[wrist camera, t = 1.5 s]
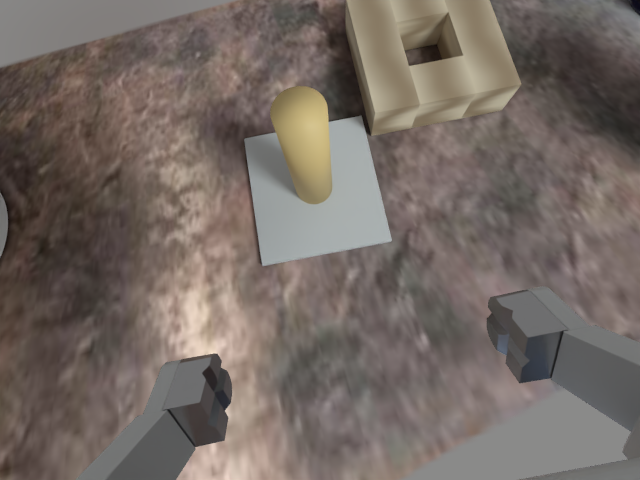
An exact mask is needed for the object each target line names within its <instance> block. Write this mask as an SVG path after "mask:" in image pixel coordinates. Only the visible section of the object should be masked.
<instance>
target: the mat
mask: <svg viewBox="0 0 640 480" xmlns="http://www.w3.org/2000/svg"><path fill="white" fill-rule="evenodd" d="M328 123H329V139H330V155H331V172H332V192H331V194H330V196H329V197H328V199H326V200H325V201H324V202H322V203H319V204H308V203H306V202H304V201H302V200H301V199H300V198H299V196H298V194H297V192H296V189H295V186H294V183H293V180H292V178H291V175H290V172H289V169H288V166H287V163H286V160H285V157H284V154H283V152H282V149H281V146H280V143H279V140H278V137H277V134H276V132H275V133H270V134H265V135H260V136H255V137H250V138H245V139H244V142H245V149H246V156H247V163H248V170H249V177H250V184H251V191H252V198H253V205H254V212H255V219H256V226H257V233H258V240H259V247H260V254H261V261H262V266H266V265H272V264H277V263H282V262H287V261H293V260H298V259H303V258H308V257H314V256H319V255H324V254H329V253H334V252H340V251H345V250H350V249H355V248H361V247H366V246H371V245H376V244H382V243H387V242H391V241H392V239H391V235H390V231H389V227H388V223H387V219H386V215H385V210H384V206H383V202H382V198H381V194H380V190H379V186H378V181H377V177H376V173H375V169H374V165H373V161H372V157H371V152H370V148H369V144H368V140H367V136H366V132H365V128H364V124H363V119H362V116H357V117H352V118H346V119H341V120H336V121H331V122H328Z"/></svg>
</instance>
